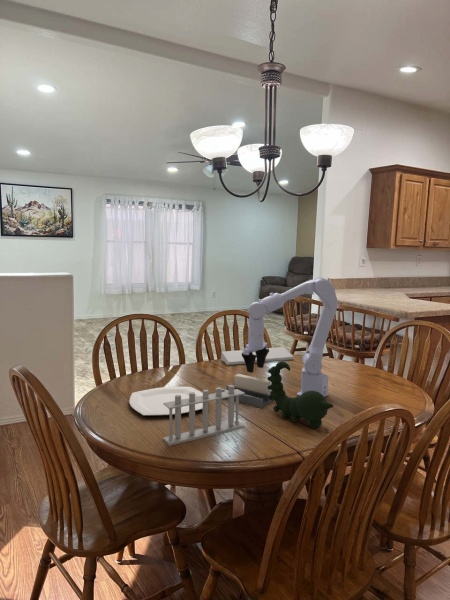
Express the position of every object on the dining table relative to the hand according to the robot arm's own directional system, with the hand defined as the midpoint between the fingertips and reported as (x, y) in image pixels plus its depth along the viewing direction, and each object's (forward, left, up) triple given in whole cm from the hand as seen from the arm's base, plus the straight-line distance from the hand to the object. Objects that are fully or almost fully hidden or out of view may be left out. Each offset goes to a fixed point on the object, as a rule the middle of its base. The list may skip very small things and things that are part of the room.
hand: (255, 369), depth 161 cm
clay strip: (-1, +4, -8) cm, 9 cm away
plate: (+18, +28, -10) cm, 35 cm away
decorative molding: (+24, -41, -10) cm, 49 cm away
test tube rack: (-7, +40, -9) cm, 41 cm away
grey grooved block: (-1, +4, -9) cm, 10 cm away
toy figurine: (-25, +14, -9) cm, 30 cm away
